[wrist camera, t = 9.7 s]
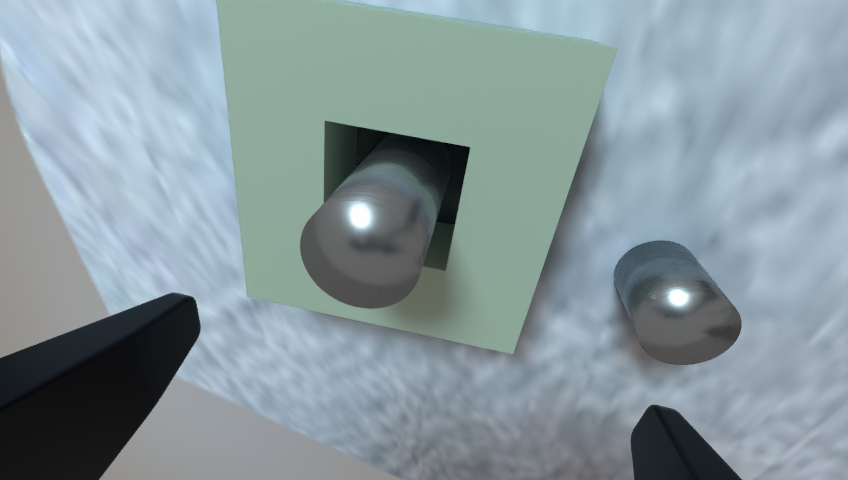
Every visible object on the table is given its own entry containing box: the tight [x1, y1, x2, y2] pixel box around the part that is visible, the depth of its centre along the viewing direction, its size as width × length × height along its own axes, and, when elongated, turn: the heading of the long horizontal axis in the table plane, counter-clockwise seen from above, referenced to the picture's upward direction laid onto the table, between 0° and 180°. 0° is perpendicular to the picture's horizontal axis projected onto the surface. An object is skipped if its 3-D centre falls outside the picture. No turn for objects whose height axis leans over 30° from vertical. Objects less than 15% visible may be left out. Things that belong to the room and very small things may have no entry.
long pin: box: [300, 133, 451, 309], centre depth 15 cm, size 4×4×8 cm
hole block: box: [216, 0, 617, 354], centre depth 17 cm, size 12×12×4 cm
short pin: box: [614, 241, 741, 365], centre depth 17 cm, size 4×4×4 cm
